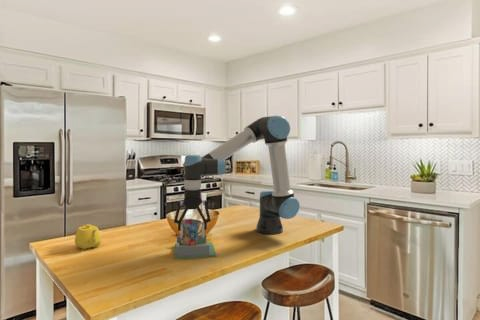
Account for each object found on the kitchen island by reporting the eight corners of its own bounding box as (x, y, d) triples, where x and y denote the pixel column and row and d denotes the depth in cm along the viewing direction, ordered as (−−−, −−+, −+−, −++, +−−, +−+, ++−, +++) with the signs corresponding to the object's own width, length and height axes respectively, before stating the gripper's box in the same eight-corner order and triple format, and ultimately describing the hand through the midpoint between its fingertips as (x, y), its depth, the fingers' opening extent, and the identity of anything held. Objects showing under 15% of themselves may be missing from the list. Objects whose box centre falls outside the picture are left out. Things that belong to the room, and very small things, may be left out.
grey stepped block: (212, 243, 160) (212, 233, 160) (216, 256, 142) (216, 245, 142) (174, 245, 157) (174, 235, 156) (174, 258, 139) (174, 247, 139)
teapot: (107, 249, 150) (107, 226, 149) (82, 255, 143) (81, 231, 142) (94, 240, 163) (94, 219, 163) (70, 245, 156) (70, 223, 155)
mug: (186, 248, 142) (188, 224, 142) (175, 242, 149) (177, 220, 148) (208, 244, 150) (210, 221, 150) (197, 239, 157) (198, 217, 157)
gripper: (215, 187, 153) (215, 234, 155) (168, 187, 149) (168, 235, 150) (217, 189, 146) (216, 238, 147) (167, 190, 142) (167, 240, 143)
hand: (192, 237), depth 149 cm, fingers closed on mug, 9 cm apart
